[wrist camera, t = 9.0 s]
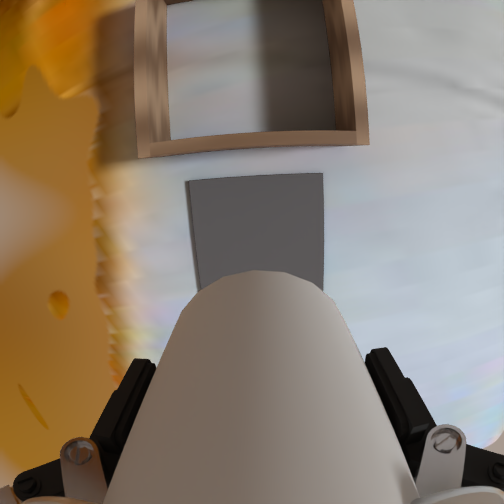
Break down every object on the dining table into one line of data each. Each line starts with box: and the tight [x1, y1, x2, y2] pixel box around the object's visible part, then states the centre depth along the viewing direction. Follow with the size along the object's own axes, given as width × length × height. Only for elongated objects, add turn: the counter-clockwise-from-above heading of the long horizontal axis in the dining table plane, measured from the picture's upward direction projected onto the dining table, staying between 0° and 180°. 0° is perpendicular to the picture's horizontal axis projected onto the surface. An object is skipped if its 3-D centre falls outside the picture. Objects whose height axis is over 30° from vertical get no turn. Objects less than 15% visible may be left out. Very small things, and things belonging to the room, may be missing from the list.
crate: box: [134, 0, 369, 158], centre depth 21 cm, size 17×17×6 cm
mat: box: [189, 173, 324, 291], centre depth 29 cm, size 12×12×1 cm
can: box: [103, 270, 420, 504], centre depth 8 cm, size 8×8×12 cm
